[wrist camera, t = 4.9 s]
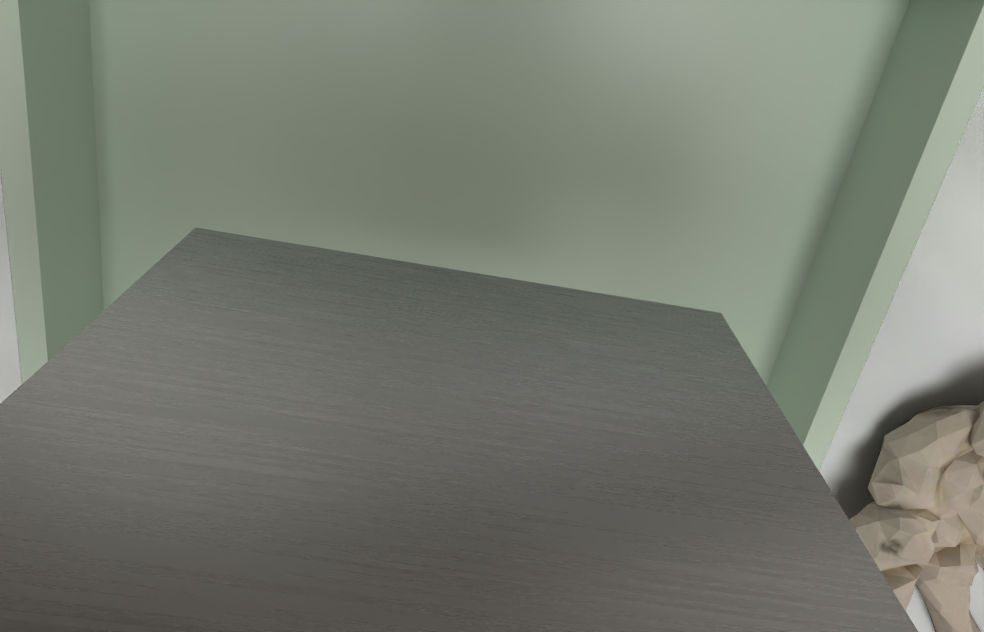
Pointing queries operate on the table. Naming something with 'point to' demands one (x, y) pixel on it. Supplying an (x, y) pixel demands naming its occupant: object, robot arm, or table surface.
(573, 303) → the tea tin
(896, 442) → the skeleton model
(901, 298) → the table surface
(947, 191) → the table surface
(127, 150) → the tote
